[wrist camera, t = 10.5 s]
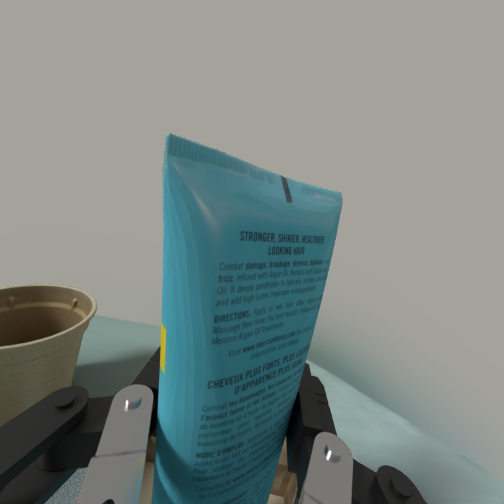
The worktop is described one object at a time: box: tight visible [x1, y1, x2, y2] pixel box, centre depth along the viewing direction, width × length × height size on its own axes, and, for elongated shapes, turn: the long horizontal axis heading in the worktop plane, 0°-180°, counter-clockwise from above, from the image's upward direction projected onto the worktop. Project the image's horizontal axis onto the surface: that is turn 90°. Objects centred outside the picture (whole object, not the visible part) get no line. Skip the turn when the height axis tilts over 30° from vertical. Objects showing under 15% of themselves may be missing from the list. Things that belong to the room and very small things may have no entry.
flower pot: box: [0, 284, 97, 427], centre depth 20 cm, size 9×9×9 cm
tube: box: [151, 133, 342, 504], centre depth 10 cm, size 7×5×19 cm, turn 135°
